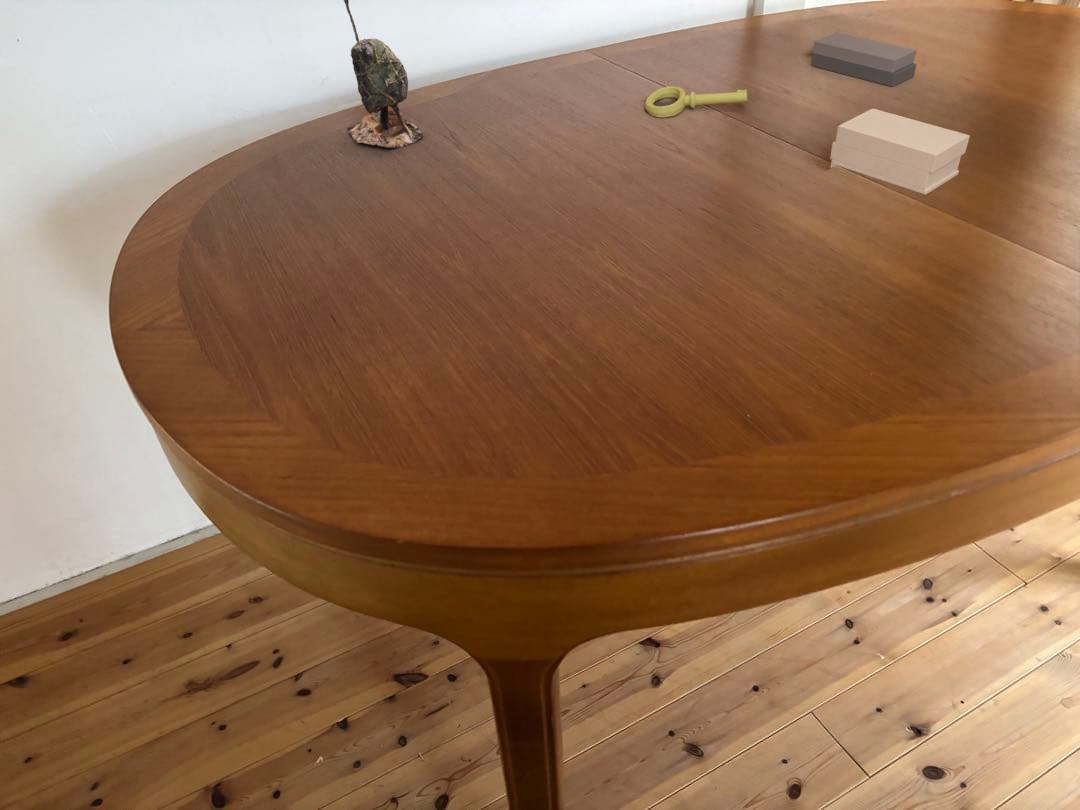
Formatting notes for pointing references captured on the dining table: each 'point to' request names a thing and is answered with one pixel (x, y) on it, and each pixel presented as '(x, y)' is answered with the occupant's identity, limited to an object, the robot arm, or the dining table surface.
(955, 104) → the dining table surface
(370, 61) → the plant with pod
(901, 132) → the beige box
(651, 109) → the key
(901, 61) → the grey stack
